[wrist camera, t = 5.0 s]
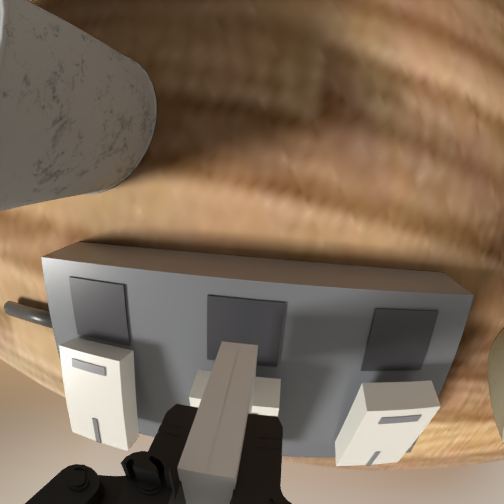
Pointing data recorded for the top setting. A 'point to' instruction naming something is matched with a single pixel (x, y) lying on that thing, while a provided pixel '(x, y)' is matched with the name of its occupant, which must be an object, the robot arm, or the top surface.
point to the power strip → (255, 326)
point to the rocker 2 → (264, 393)
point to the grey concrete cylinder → (66, 109)
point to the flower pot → (497, 381)
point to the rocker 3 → (385, 422)
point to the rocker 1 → (100, 391)
